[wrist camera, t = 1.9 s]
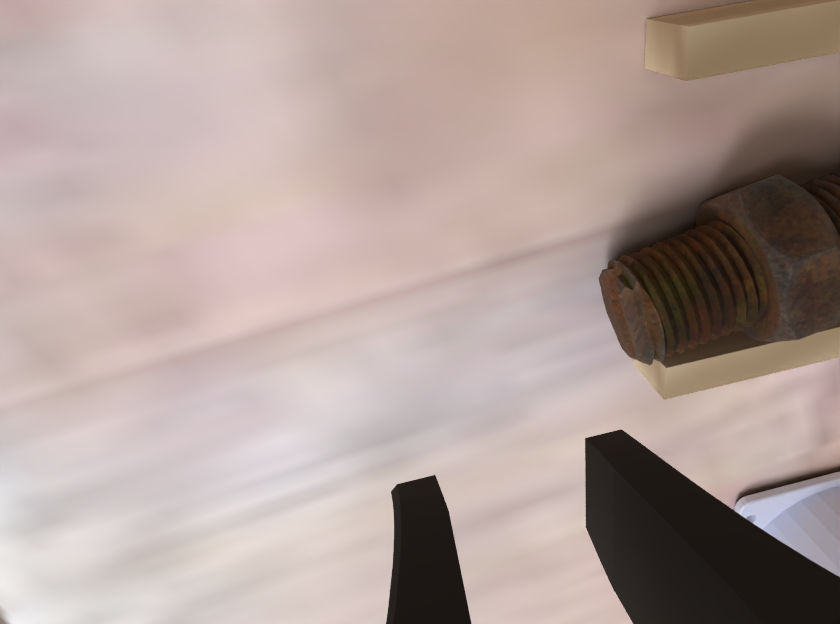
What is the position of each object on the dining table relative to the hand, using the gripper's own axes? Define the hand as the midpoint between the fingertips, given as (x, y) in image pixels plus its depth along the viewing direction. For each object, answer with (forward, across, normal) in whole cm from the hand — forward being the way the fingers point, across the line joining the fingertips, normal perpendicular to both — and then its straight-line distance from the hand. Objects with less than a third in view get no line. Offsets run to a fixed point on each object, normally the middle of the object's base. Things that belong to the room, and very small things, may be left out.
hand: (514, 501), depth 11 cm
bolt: (+10, -13, 0) cm, 16 cm away
